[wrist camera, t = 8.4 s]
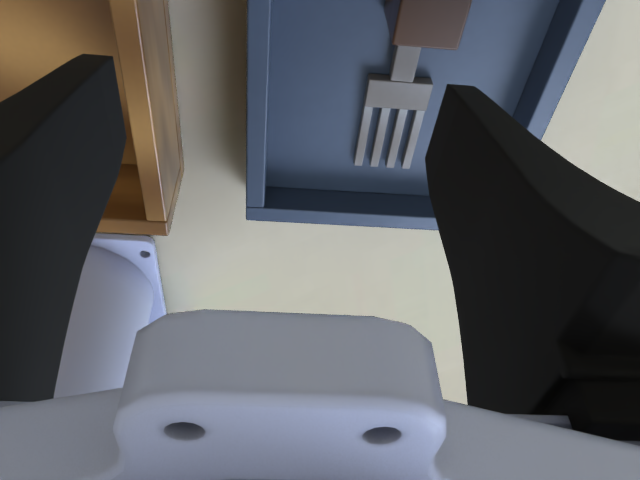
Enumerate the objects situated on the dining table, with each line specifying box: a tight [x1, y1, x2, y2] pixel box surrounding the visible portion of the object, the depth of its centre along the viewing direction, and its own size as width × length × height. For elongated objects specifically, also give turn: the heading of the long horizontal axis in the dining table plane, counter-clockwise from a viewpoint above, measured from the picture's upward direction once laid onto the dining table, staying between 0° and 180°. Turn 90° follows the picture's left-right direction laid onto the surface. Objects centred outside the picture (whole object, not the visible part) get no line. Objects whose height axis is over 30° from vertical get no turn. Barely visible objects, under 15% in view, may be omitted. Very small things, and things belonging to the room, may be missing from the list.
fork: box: [354, 0, 472, 169], centre depth 19 cm, size 13×2×3 cm, turn 175°
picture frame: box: [246, 0, 606, 230], centre depth 20 cm, size 18×12×2 cm, turn 175°
